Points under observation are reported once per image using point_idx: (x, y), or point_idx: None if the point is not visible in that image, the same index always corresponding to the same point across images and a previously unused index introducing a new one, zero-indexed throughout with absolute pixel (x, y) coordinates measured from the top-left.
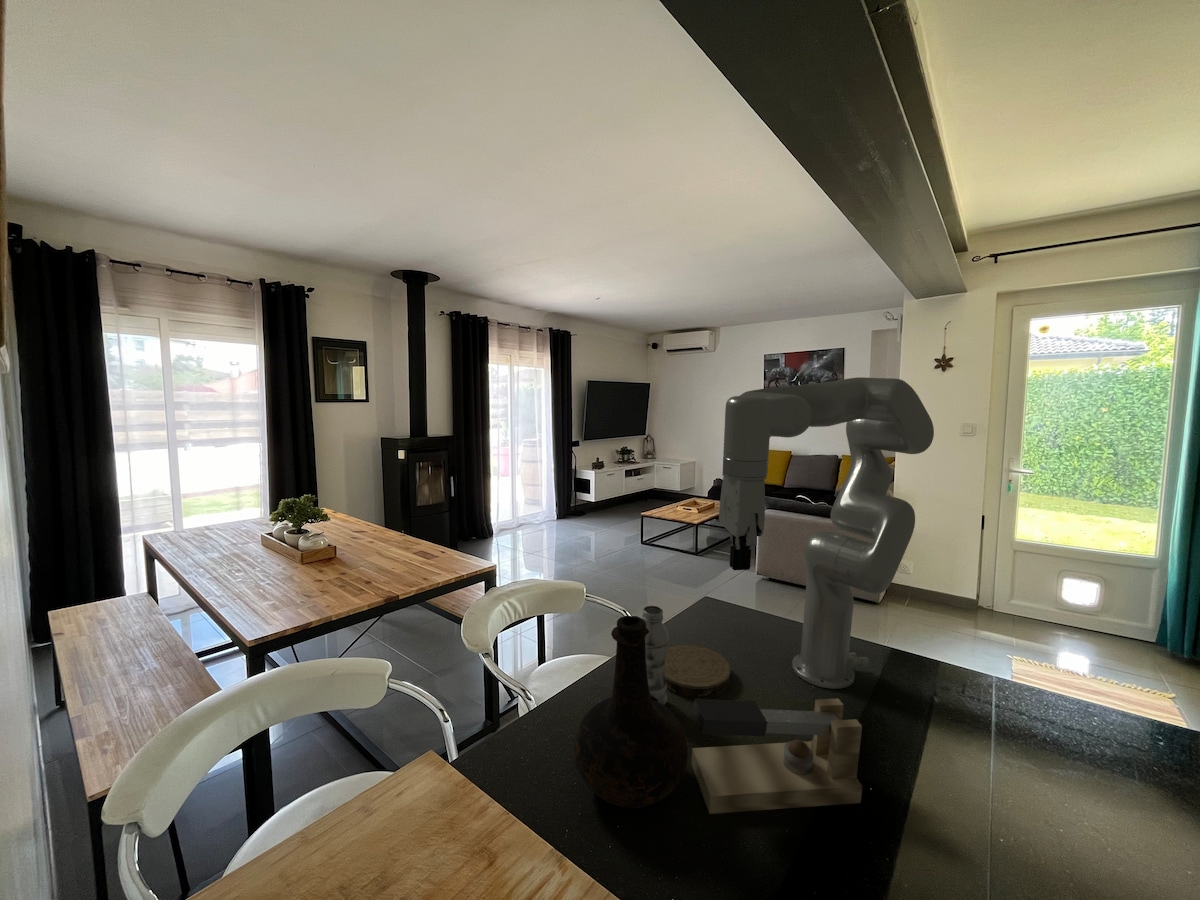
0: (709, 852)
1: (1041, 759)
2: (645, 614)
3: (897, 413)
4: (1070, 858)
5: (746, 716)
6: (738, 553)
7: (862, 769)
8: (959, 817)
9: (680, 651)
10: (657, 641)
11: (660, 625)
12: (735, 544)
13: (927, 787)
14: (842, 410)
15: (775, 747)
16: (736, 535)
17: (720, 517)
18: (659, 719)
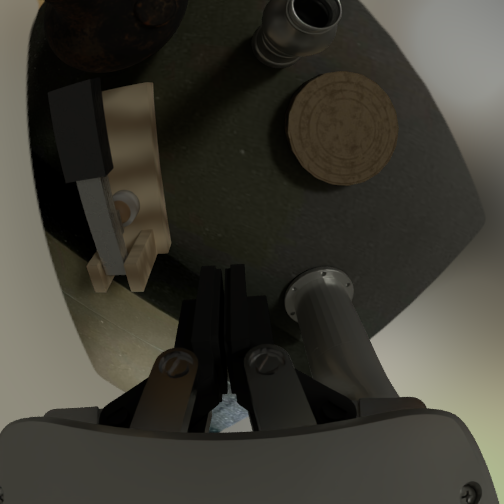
0: None
1: None
2: None
3: None
4: (99, 345)
5: (68, 155)
6: (188, 341)
7: (155, 267)
8: (114, 309)
9: (382, 122)
10: (264, 23)
11: (292, 28)
12: (192, 370)
13: (141, 306)
14: None
15: (150, 188)
16: (11, 422)
17: (424, 457)
18: (75, 29)
